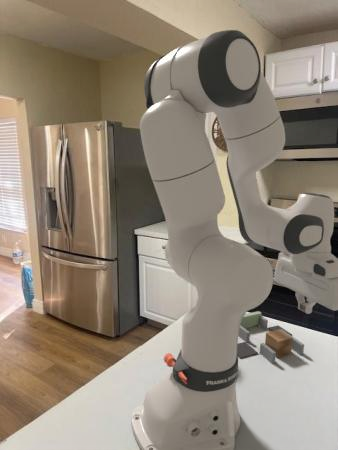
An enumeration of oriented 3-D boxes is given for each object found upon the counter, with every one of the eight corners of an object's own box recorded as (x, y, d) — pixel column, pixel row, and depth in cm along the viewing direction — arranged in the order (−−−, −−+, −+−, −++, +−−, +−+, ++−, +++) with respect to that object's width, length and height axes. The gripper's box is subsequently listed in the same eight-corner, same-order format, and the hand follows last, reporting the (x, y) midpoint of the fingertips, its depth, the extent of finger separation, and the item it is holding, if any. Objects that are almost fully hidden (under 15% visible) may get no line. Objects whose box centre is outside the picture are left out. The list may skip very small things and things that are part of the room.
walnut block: (276, 358, 91) (278, 341, 90) (264, 348, 96) (266, 332, 95) (290, 354, 93) (292, 337, 92) (278, 344, 98) (279, 329, 97)
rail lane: (271, 363, 89) (273, 349, 88) (229, 328, 106) (230, 317, 105) (303, 354, 93) (304, 341, 92) (257, 322, 111) (258, 311, 110)
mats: (240, 358, 91) (240, 357, 91) (220, 340, 100) (220, 339, 100) (301, 341, 100) (301, 340, 100) (278, 326, 108) (278, 325, 108)
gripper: (270, 249, 90) (267, 297, 93) (335, 274, 72) (328, 333, 75) (288, 246, 92) (284, 293, 95) (356, 270, 74) (348, 327, 77)
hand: (304, 311), depth 85 cm, fingers closed
